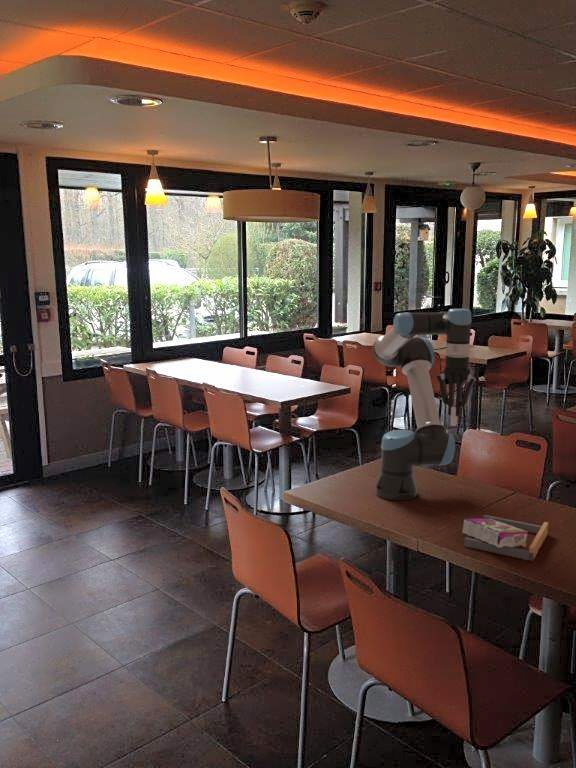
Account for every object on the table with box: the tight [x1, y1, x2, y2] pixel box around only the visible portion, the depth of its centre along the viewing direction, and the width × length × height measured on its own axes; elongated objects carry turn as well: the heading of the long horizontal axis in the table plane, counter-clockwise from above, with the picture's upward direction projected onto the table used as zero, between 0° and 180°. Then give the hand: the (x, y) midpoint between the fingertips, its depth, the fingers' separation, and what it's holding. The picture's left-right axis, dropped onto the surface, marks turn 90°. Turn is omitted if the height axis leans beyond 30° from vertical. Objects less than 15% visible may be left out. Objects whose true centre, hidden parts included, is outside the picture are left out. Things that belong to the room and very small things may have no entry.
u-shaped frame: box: [463, 514, 549, 562], centre depth 211 cm, size 20×22×4 cm
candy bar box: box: [462, 518, 529, 548], centre depth 207 cm, size 11×5×16 cm
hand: (453, 425), depth 230 cm, fingers closed
